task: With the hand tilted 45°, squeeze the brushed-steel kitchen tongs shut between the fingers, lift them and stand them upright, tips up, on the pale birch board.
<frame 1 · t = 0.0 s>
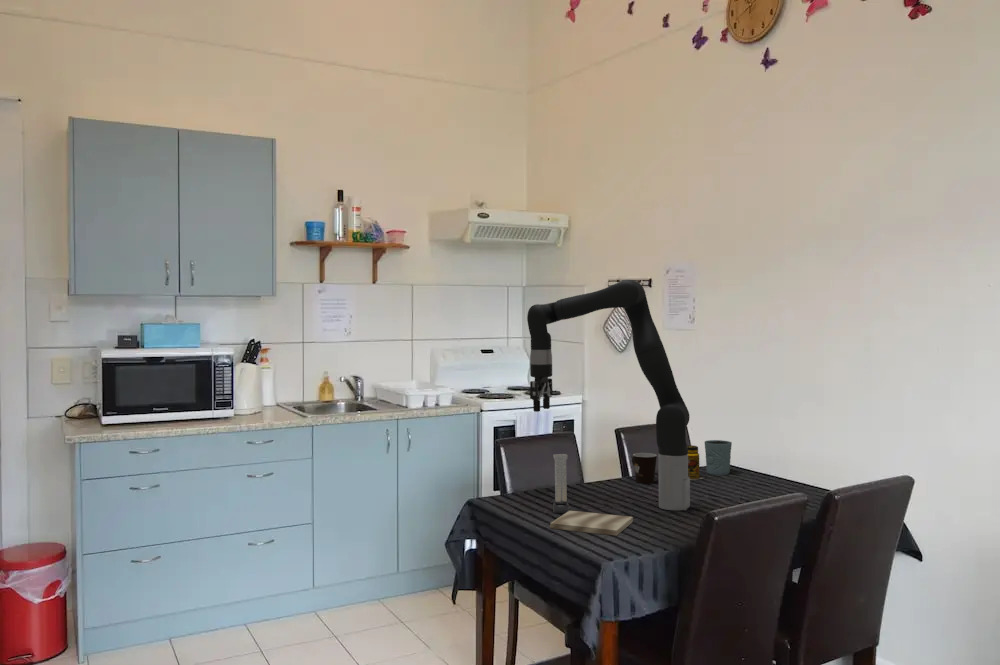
hand: (541, 410, 273), 29 cm above the table, tool pointing down, fingers open, 8 cm apart
tongs: (561, 511, 251), on the table
coffee mug: (644, 481, 294), on the table
birch board: (592, 525, 235), on the table
teal embossed plant pot: (718, 473, 308), on the table
condiment: (690, 478, 300), on the table
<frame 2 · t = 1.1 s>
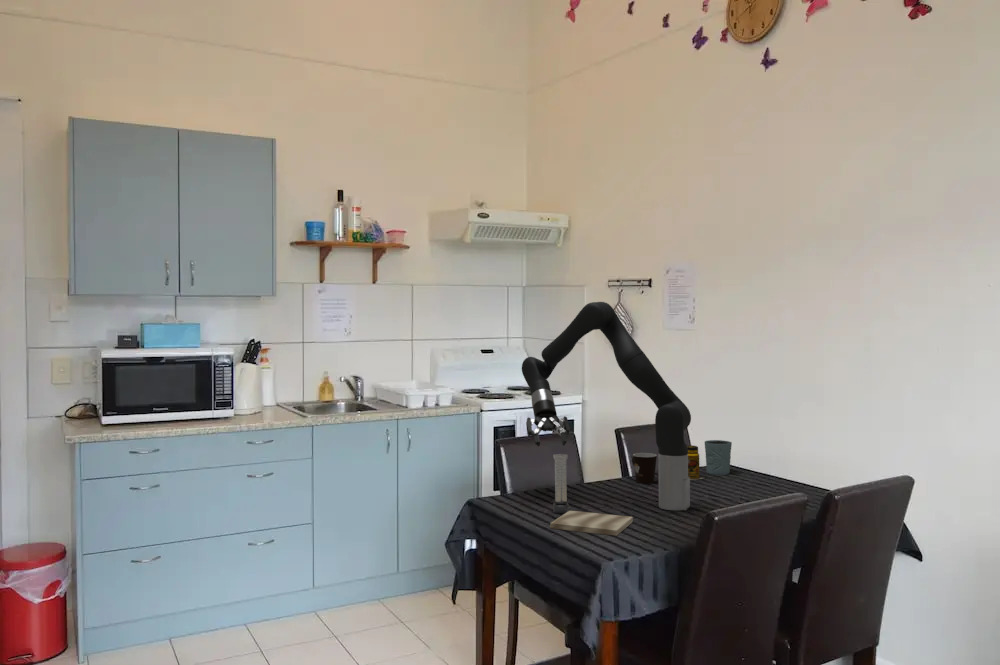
hand: (551, 444, 261), 19 cm above the table, tool tilted 45°, fingers open, 8 cm apart
nothing on the table moved.
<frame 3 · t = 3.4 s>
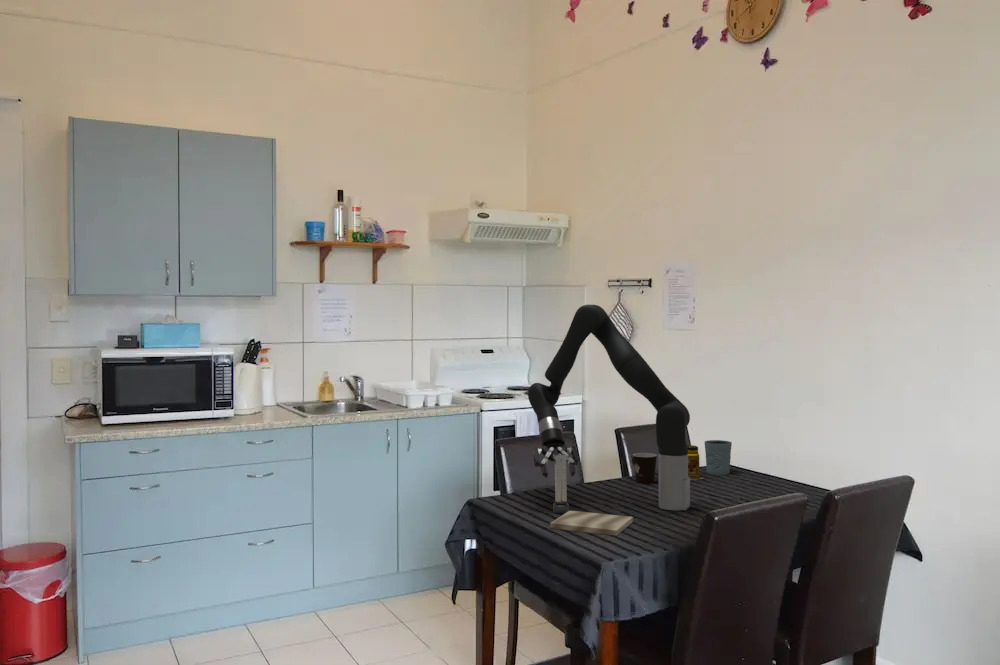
hand: (559, 475, 252), 11 cm above the table, tool tilted 45°, fingers open, 8 cm apart
nothing on the table moved.
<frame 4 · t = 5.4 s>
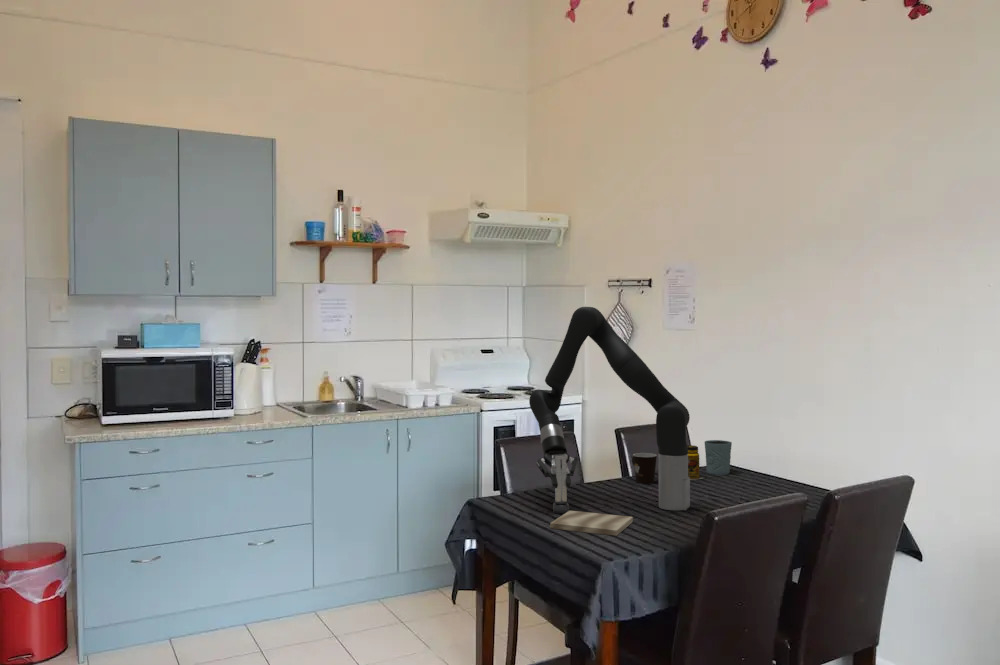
hand: (562, 486, 248), 8 cm above the table, tool tilted 45°, fingers closed on tongs, 3 cm apart
tongs: (561, 511, 251), on the table, touching gripper
everything else where it was.
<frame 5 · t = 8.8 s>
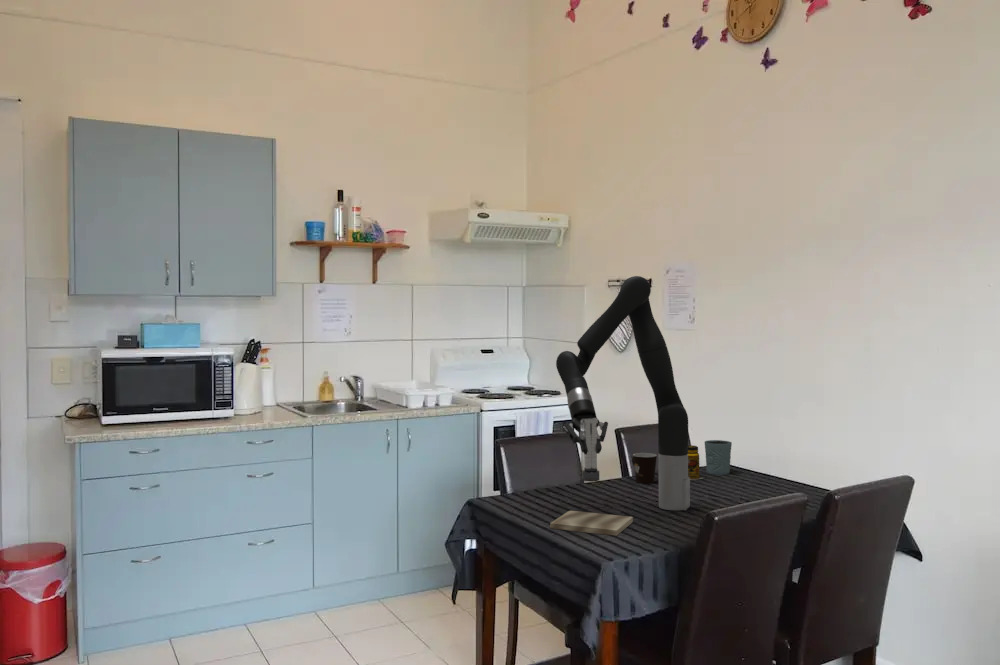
hand: (592, 452, 233), 22 cm above the table, tool tilted 45°, fingers closed on tongs, 3 cm apart
tongs: (590, 479, 235), point 13 cm above the table, touching gripper
everything else where it was.
when the fingers open (11 cm above the table, at t = 12.1 s): tongs drops 1 cm, resting on birch board.
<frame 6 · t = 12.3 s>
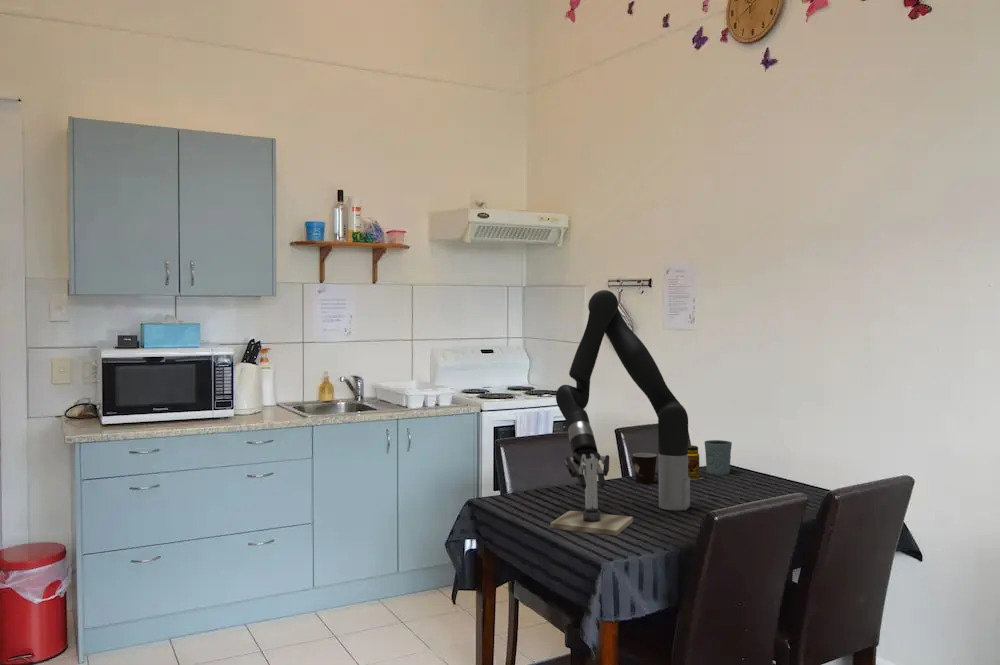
hand: (593, 487, 232), 12 cm above the table, tool tilted 45°, fingers open, 4 cm apart
tongs: (591, 519, 235), point 2 cm above the table, touching birch board
everything else where it was.
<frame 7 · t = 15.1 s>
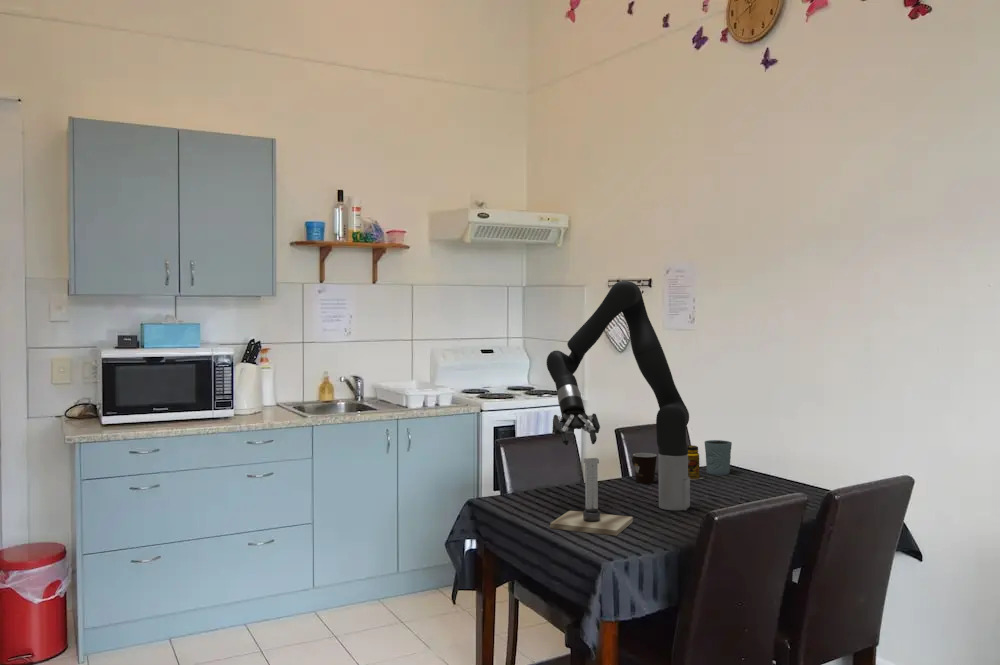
hand: (580, 443, 246), 22 cm above the table, tool tilted 45°, fingers open, 8 cm apart
nothing on the table moved.
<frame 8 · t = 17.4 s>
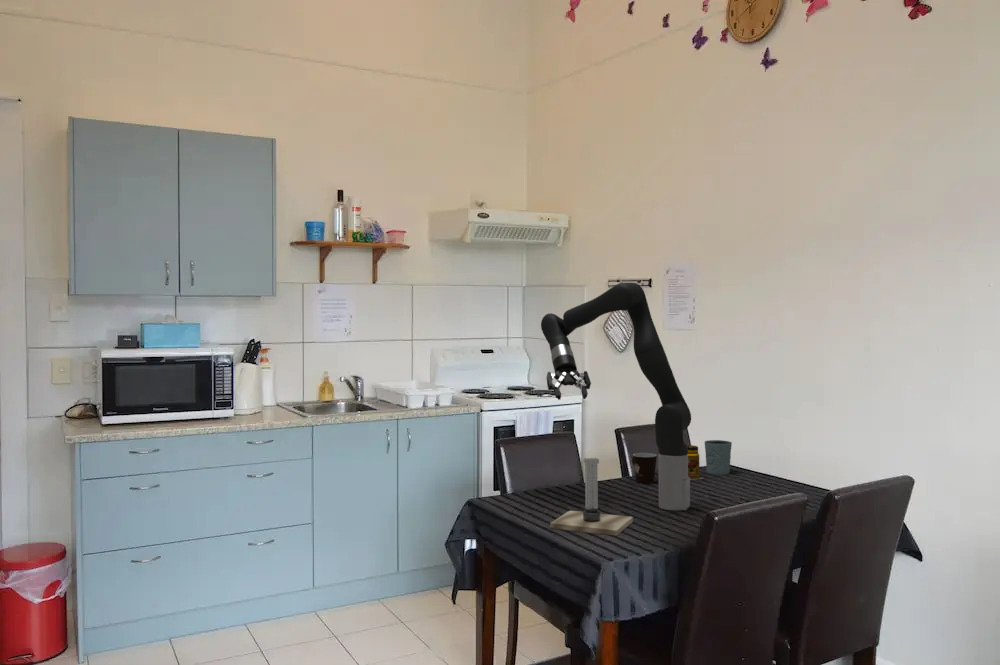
hand: (572, 397, 261), 35 cm above the table, tool tilted 45°, fingers open, 8 cm apart
nothing on the table moved.
at the end: tongs inside the target area on the birch board (0.1 cm from its centre), point 1.5 cm above the birch board's base; tongs tilted 0°; the gripper is holding nothing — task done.
